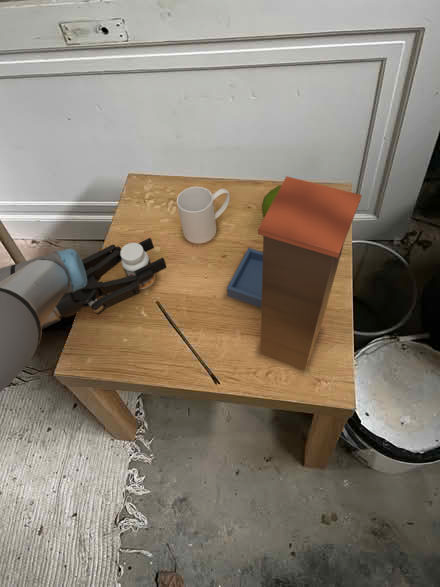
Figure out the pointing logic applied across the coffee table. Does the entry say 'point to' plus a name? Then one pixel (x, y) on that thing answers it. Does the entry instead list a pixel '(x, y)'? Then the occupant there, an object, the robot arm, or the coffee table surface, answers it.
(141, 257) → the pill bottle
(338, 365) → the coffee table surface
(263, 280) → the stand
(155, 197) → the coffee table surface
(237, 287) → the blue tray
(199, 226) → the mug
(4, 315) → the robot arm
